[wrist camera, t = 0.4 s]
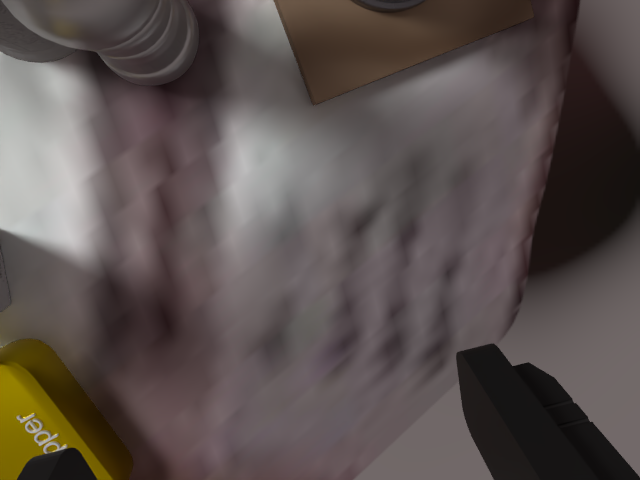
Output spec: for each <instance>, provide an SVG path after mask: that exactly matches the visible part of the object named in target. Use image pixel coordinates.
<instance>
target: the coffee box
mask: <svg viewBox="0 0 640 480" xmlns="http://www.w3.org/2000/svg"><path fill="white" fill-rule="evenodd" d="M10 305H11V299H10V294H9V289H8V284H7V278H6V273H5V268H4V263H3V258H2V253H1V248H0V312H1V311H3V310H4V309H6V308H7V307H8V306H10Z"/></svg>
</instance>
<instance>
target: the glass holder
mask: <svg viewBox="0 0 640 480" xmlns="http://www.w3.org/2000/svg"><path fill="white" fill-rule="evenodd" d="M76 50H77V49H76V48H70V47H67V46H64V45H61V44H58V43H55V42H53V41H50V40H47V39H45V38H43V37H41V36H39V35H38V34H36V33H34V32H33V31H31V30H29V29H28V28H27V27H26V26H24V25H23V24H22V23H21V22H20V21H19V20H17V19H16V18H15V17H14V16H13V15H12V13H11V12H10V11H9V10H8V8H7V7H6V6H5V5H4V3H3V2H2V1H1V0H0V51H1V52H3V53H4V54H6V55H9V56H11V57H14V58H16V59H20V60H24V61H29V62H49V61H54V60H58V59H61V58H64V57H66V56H68V55H70V54H72V53H73V52H75V51H76Z"/></svg>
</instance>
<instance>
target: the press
mask: <svg viewBox="0 0 640 480" xmlns="http://www.w3.org/2000/svg"><path fill="white" fill-rule="evenodd" d="M350 1H352V2H353V3H355V4H356V5H358V6H361V7H363V8H365V9H368V10H371V11H375V12H382V13H396V12H402V11H406V10H409V9H412V8H414V7H416V6H418V5H420V4H422V3H423V2H425V1H426V0H350Z"/></svg>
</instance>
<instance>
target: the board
mask: <svg viewBox="0 0 640 480" xmlns="http://www.w3.org/2000/svg"><path fill="white" fill-rule="evenodd" d="M274 2H275V5H276V8H277V10H278V13H279V16H280V18H281V21H282V24H283V26H284V29H285V32H286V34H287V37H288V40H289V42H290V45H291V48H292V50H293V53H294V56H295V58H296V61H297V64H298V66H299V69H300V72H301V74H302V77H303V80H304V82H305V85H306V88H307V91H308V93H309V96H310V99H311V101H312V104H313V106H314V105H316V104H319V103H321V102H324V101H326V100H329V99H331V98H334V97H336V96H339V95H341V94H344V93H346V92H349V91H351V90H354V89H356V88H359V87H361V86H364V85H366V84H369V83H371V82H374V81H376V80H379V79H381V78H384V77H386V76H389V75H391V74H394V73H396V72H399V71H401V70H404V69H406V68H409V67H411V66H414V65H416V64H419V63H421V62H424V61H426V60H429V59H431V58H434V57H436V56H439V55H441V54H444V53H446V52H449V51H451V50H454V49H457V48H459V47H462V46H464V45H467V44H469V43H472V42H474V41H477V40H479V39H482V38H484V37H487V36H489V35H492V34H494V33H497V32H499V31H502V30H504V29H507V28H509V27H512V26H514V25H517V24H519V23H522V22H524V21H526V20H528V19H531V18H533V17H534V13H533V9H532V4H531V0H426V1H425V2H423V3H422V4H420V5H418V6H416V7H414V8H412V9H409V10H406V11H402V12H396V13H382V12H375V11H371V10H368V9H365V8H363V7H361V6H358V5H356V4H355V3H353V2H352V1H350V0H274Z"/></svg>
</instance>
